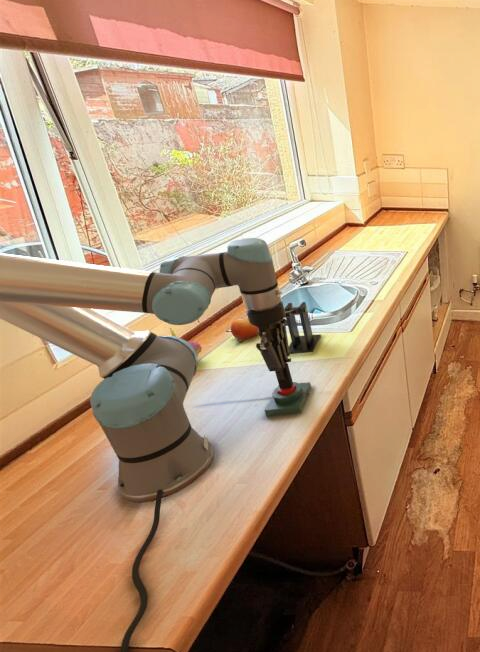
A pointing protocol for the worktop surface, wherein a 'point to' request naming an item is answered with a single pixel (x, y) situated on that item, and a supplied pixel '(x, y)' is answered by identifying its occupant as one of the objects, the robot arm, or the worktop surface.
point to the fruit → (243, 329)
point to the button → (286, 390)
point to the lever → (292, 311)
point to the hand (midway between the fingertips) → (286, 386)
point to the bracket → (308, 340)
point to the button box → (288, 401)
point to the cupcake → (192, 344)
